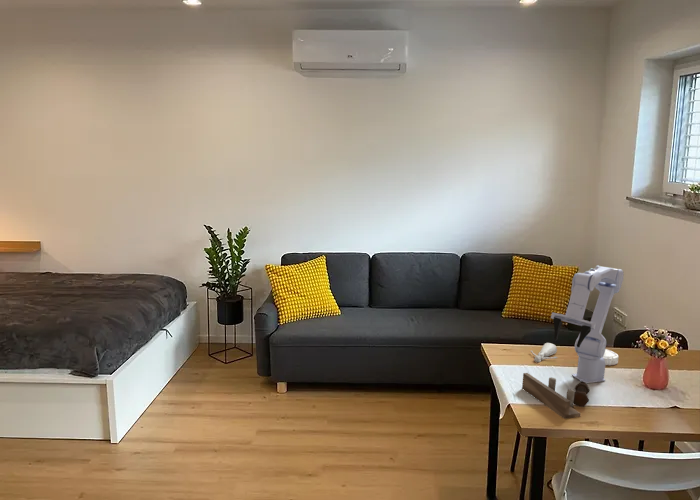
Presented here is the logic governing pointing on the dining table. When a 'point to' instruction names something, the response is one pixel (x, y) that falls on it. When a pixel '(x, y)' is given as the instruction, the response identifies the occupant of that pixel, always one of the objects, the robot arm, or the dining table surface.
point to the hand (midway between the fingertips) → (566, 343)
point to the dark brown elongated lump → (581, 394)
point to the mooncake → (610, 357)
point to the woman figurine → (545, 352)
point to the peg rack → (551, 396)
